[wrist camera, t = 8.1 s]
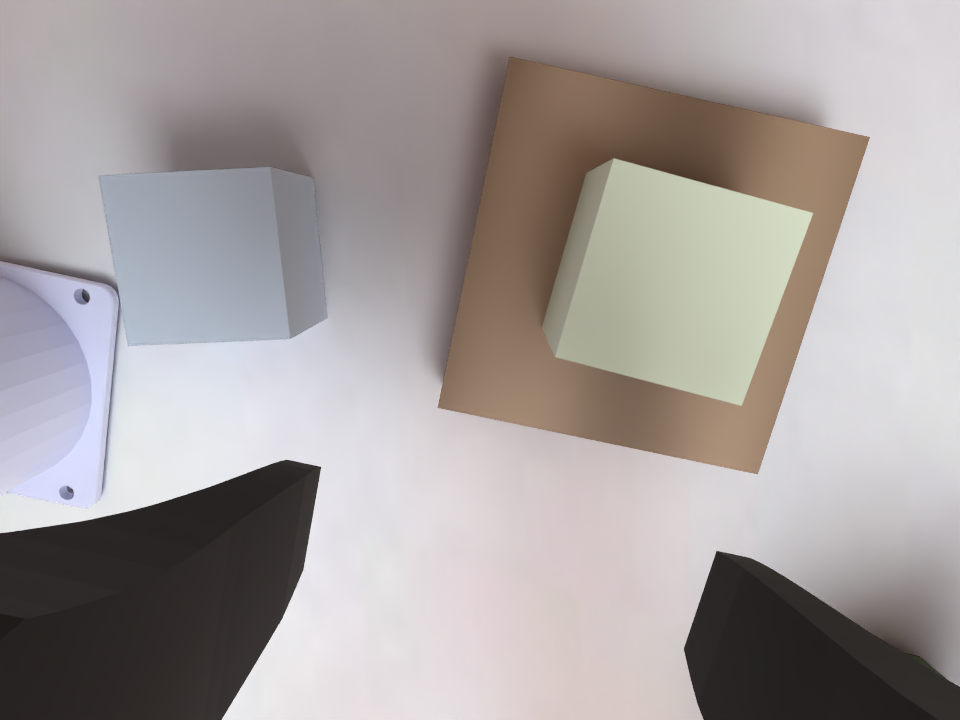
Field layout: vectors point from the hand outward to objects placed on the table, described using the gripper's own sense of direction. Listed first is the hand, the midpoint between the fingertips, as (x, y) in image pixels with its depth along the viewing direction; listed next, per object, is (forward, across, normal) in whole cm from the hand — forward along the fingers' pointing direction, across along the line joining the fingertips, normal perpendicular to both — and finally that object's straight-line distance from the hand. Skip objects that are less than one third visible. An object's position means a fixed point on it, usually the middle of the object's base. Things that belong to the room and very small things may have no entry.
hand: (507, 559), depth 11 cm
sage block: (+8, -3, -5) cm, 10 cm away
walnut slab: (+11, -3, -5) cm, 12 cm away
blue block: (+11, +9, -3) cm, 14 cm away
